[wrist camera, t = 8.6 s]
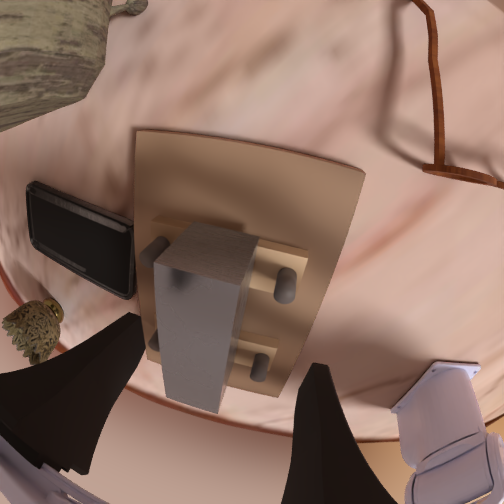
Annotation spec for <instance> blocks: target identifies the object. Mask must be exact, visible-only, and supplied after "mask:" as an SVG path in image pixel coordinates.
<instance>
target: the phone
mask: <svg viewBox="0 0 504 504" xmlns="http://www.w3.org/2000/svg"><path fill="white" fill-rule="evenodd" d="M26 204H27V217H28V228H29V236H30V241H31V243H32V245H33V247H34V248H35V249H36V250H38V251H39V252H41V253H43V254H44V255H46V256H47V257H49V258H51V259H52V260H54V261H55V262H57V263H59V264H60V265H62V266H64V267H65V268H67V269H69V270H70V271H72V272H74V273H76V274H77V275H79V276H81V277H83V278H84V279H86V280H88V281H90V282H92V283H93V284H95V285H97V286H99V287H101V288H103V289H104V290H106V291H108V292H110V293H112V294H114V295H116V296H118V297H120V298H122V299H125V300H129V299H131V297H132V296H133V295H134V294H135V293H136V290H137V275H136V273H135V270H136V261H135V243H134V222H133V221H131V220H129V219H127V218H124V217H122V216H119V215H117V214H114V213H112V212H110V211H107V210H105V209H102V208H100V207H97V206H95V205H92V204H90V203H87V202H85V201H83V200H80V199H78V198H75V197H73V196H70V195H68V194H66V193H63V192H61V191H58V190H56V189H54V188H51V187H49V186H46V185H44V184H42V183H39V182H37V181H33V182H31V183H29V184H28V185H27V187H26ZM135 286H136V287H135Z"/></svg>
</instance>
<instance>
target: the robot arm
mask: <svg viewBox="0 0 504 504" xmlns="http://www.w3.org/2000/svg"><path fill="white" fill-rule="evenodd" d="M145 349H146V345H145V339H144V333H143V326H142V320H141V316H138V315H136V314H133V313H130V312H128V313H127V314H125V315H124V316H122V317H121V318H119V319H118V320H116V321H115V322H113V323H112V324H110V325H109V326H107V327H106V328H104V329H103V330H101V331H100V332H98V333H97V334H95V335H93V336H92V337H90V338H89V339H87V340H86V341H84V342H82V343H81V344H79V345H77V346H75V347H74V348H72V349H70V350H68V351H66V352H64V353H62V354H60V355H58V356H56V357H54V358H52V359H50V360H47V361H45V362H42V363H39V364H36V365H34V366H31V367H28V368H24V369H21V370H17V371H13V372H8V373H1V374H0V491H1V492H2V493H3V495H4V496H5V497H6V498H7V499H8V501H9V502H10V503H11V504H81V503H83V504H109V503H107V502H106V501H104V500H102V499H100V498H98V497H96V496H94V495H93V494H91V493H89V492H88V491H86V490H84V489H83V488H81V487H80V486H78V485H76V484H75V483H73V482H72V481H70V480H69V479H67V478H66V477H64V476H63V475H62V474H60V473H59V472H60V470H61V469H63V470H64V471H66V472H69V470H70V468H71V469H73V470H74V471H76V472H77V473H79V474H80V475H87V474H88V473H89V469H90V465H91V461H92V458H93V454H94V451H95V448H96V445H97V442H98V439H99V437H100V434H101V431H102V429H103V426H104V424H105V422H106V419H107V417H108V415H109V413H110V411H111V409H112V407H113V405H114V403H115V401H116V400H117V398H118V397H119V395H120V393H121V392H122V390H123V389H124V387H125V385H126V384H127V382H128V381H129V379H130V377H131V376H132V374H133V373H134V371H135V369H136V368H137V366H138V364H139V362H140V360H141V358H142V355H143V353H144V351H145ZM480 369H481V365H480V364H466V363H451V362H439V361H437V362H435V363H433V364H432V365H431V367H430V368H429V369H428V370H427V371H426V372H425V374H424V375H423V376H422V377H421V378H420V379H419V380H418V382H417V383H416V384H415V385H414V386H413V387H412V388H411V389H410V390H409V391H408V392H407V393H406V395H405V396H404V397H403V398H402V399H401V400H400V401H399V402H398V403H397V404H396V405H395V406H394V407H393V408H392V409H391V413H397V420H398V428H399V437H400V446H401V454H402V457H403V459H404V461H405V462H406V463H407V464H408V465H409V466H410V467H412V468H415V469H416V472H414V473H413V474H412V475H411V477H410V479H409V481H408V483H407V485H406V489H405V504H465V503H467V502H470V501H472V500H474V499H476V498H478V497H480V496H482V495H484V494H486V493H488V492H490V491H492V492H491V494H489V495H488V496H486V497H484V498H482V499H480V500H478V501H475V502H473V503H471V504H502V503H503V502H504V442H503V440H502V438H501V436H500V435H499V434H497V433H494V432H491V433H490V434H488V433H487V432H486V428H485V424H484V421H483V417H482V414H481V410H480V407H479V404H478V401H477V398H476V395H475V392H474V389H473V386H472V383H471V381H470V380H471V379H472V378H473V377H474V376H475V375H476V373H477V372H478V371H479V370H480ZM67 494H69V495H71V496H72V497H73V498H75V499H76V500H78V501H80V502H81V503H79V502H77V501H75V500H73V499H71V498H69V497H68V496H67ZM281 504H398V503H397V502H396V501H395V500H394V499H393V498H392V497H391V495H390V494H389V493H388V492H387V491H386V489H385V488H384V487H383V485H382V484H381V483H380V481H379V480H378V478H377V477H376V475H375V474H374V472H373V471H372V470H371V468H370V467H369V465H368V463H367V461H366V460H365V458H364V456H363V454H362V453H361V451H360V449H359V447H358V445H357V443H356V441H355V439H354V437H353V434H352V432H351V430H350V428H349V425H348V423H347V420H346V418H345V415H344V413H343V410H342V407H341V404H340V402H339V399H338V396H337V393H336V390H335V386H334V383H333V380H332V376H331V373H330V369H329V367H328V365H324V364H318V363H312V365H311V367H310V369H309V371H308V373H307V375H306V377H305V379H304V380H303V382H302V384H301V386H300V388H299V389H298V395H297V401H296V406H295V414H294V428H293V443H292V456H291V463H290V469H289V474H288V478H287V483H286V486H285V490H284V494H283V498H282V502H281Z"/></svg>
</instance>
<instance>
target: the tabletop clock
mask: <svg viewBox="0 0 504 504" xmlns="http://www.w3.org/2000/svg"><path fill="white" fill-rule="evenodd" d="M111 5H112V0H0V132H2V131H5V130H7V129H10V128H12V127H15V126H17V125H19V124H22V123H24V122H26V121H29V120H31V119H34V118H36V117H39V116H41V115H44V114H46V113H49V112H51V111H54V110H56V109H59V108H62V107H65V106H67V105H70V104H73V103H76V102H78V101H80V100H82V99H84V98H85V97H86V96H87V94H88V92H89V90H90V88H91V87H92V85H93V83H94V81H95V80H96V78H97V76H98V75H99V73H100V72H101V70H102V68H103V67H104V65H105V55H106V43H107V34H108V25H109V18H110V16H112V15H115V14H118V13H121V12H123V11H127V12H128V13H129V14H140V13H141V12H143V11H144V10H145V9H146V7H147V5H148V1H147V0H127V2H126V4H124V5H117V6H111Z"/></svg>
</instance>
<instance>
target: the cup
mask: <svg viewBox="0 0 504 504" xmlns="http://www.w3.org/2000/svg"><path fill="white" fill-rule="evenodd" d="M4 319H5V320H4ZM63 319H64V313H63V310H62V308H61V307H60V305H59V304H58V303H57V302H56V301H55V300H53V299H51V298H47V299H45V300H44V301H43V303H42V302H40V301H36V300H35V301H29V302H27V303H25V304H23V305H22V306H20V307H19V308H17V309H16V310H14V311H13V312H12V313H11V314H9V315H8V316H6V317H5V318H3V320H4V321H3V322H2V324H3V326H2V328H3V329H5V330H7V331H8V333H7V336H13V335H14V336H13V340H12V344H13V345H15V344H16V345H17V350H18V351H22V350H25V351H24V354H23V357H29V361H30V364H31V365H36V364H39V363H42V362H45V361H47V359H48V357H49V356H50V354H51V352H52V351H53V350H54V348H55V346H56V344H57V342H58V340H59V337H60V325H59V323H61V322H62V321H63Z"/></svg>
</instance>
